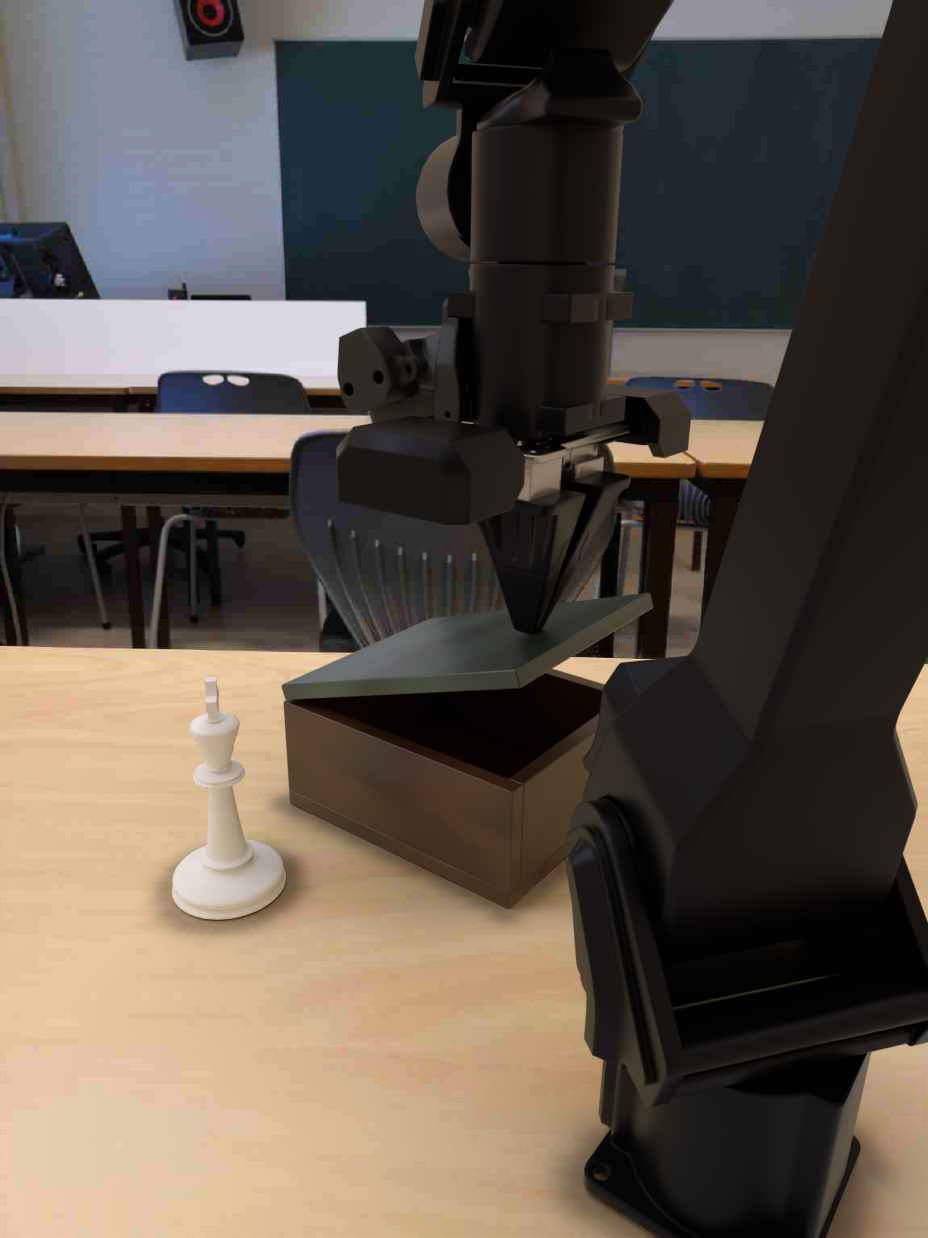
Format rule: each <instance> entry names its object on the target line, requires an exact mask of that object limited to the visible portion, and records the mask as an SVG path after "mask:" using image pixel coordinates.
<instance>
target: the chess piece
mask: <svg viewBox="0 0 928 1238" xmlns="http://www.w3.org/2000/svg"><path fill="white" fill-rule="evenodd" d="M204 688H205V701H204V705H205V706H204V707H205V713H203V714H200V715H199V716H197V717H195V718H193V720H192V721H191V722H190V724H189V727H188V728H189V732H190V735H191V737H192V739H193V741H194V742H195V743H196V746H197V748H198V750H199V753H200V755H201V756H202V758H203V760H204V762H202V763H201V764H199V765H198V766H197V767H196V768H195V769H194V773H193V776H192V777H193V778H192V779H193V782H194V784H196V785H197V787H200V788H203V789H208V816H207V817H208V818H207V819H208V820H207V838H206V845H203V846H202V847H201V846H200V848H197V849H196V850H194V851H192V852H191V853H189V854H188V855H186V856H185V857H184V858H183V859H182V860H181V861H180V863H178V864H177V866H176V868H175V870H174V872H173V874H172V887H171V896H172V900H173V901H174V903H175V905H176V906H177V907H178V908H179V909H180V910H181V911H183V912H184V913H186V914H188V915H190V916H193V917H196V918H198V919H199V918H200V919H204V920H205V919H206V920H230V919H237V918H240V917H244V916H248V915H251V914H253V913H255V912H257V911H260V910H262V909H263V908H265V907H266V906H268V905H269V904H271V903H272V902H273V901H274V900H275V899H277V897H278V896H279V895H280V894H281V892H282V891H283V889H284V887H285V885H286V881H287V872H286V870H285V869H286V868H285V867H284V861H283V858H282V856H281V855H280V854H279V852H278V851H277V850H275V848H273V847H272V846H270V845H268V844H267V843H264V842H261V841H257V840H254V839H253V840H252V839H247V838H245V835H244V831H243V827H242V822H241V819H240V815H239V810H238V807H237V802H236V796H235V791H234V786H235V785H237V784H238V783H240V782H241V781H242V780H243V779H244V778H245V775H246V770H245V769H246V768H244V765H243V764H242V762H240V761H238V760H236V759H233V758H232V756H233V753H234V748H235V744H236V740H237V736H238V734H239V729H240V723H241V722H240V719H239V718H238V716H237V715H235V714H233V713H231V712H226V711H220V702H219V701H220V700H219V699H220V688H219V684H218V681H217V676H211V677H210V676H209V677H205V678H204Z"/></svg>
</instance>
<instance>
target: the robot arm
mask: <svg viewBox="0 0 928 1238" xmlns="http://www.w3.org/2000/svg"><path fill="white" fill-rule="evenodd" d="M674 2H675V0H424V2H423V7H422V11H421V19H420V25H419V30H418V37H417V41H416V48H415V54H414V62H415V66H416V71H417V76H418V80H419V81H422V82H423V88H422V107H423V108H424V109H440V110H456V131H455V132H456V133H455V134H456V135H454V136H452V137H450V138H449V139H447V140H445V141H444V142H442V143H440V144H439V145H438V146H437V147H436V149H435V150H433V151H432V153H431V154H429V156H428V158H427V160H426V161H425V163H424V165H423V166H422V169H421V172H420V176H419V178H418V182H417V185H416V188H415V189H416V190H415V203H416V204H415V205H416V210H417V216H418V218H419V221H420V225H421V227H422V229H423V231H424V232H425V234H426V236H427V237H428V239H429V241H430V242H431V243H432V244H433V245H434V246H435V247H436V248H437V249H438V250H439V251H440V252H442V253H443V254H444V255H447V256H448V257H451V258H452V259H454V260H458V261H461V262H465V263H470V264H469V289H451V290H450V289H449V290H447V298H445V300H444V301H443V302H442V310H441V311H442V312H441V313H442V314H441V315H442V316H441V318H442V320H441V321H442V323H441V329H440V331H437V332H435V333H432V334H430V335H428V336H424V337H419V338H409V339H405V340H403V341H402V340H400V337H399V336H398V335H397V334H396V333H395V331H394V330H393V329H392V328H391V327H390V326H388V325H380V326H379V325H378V326H364V327H359V328H356V329H353V330H351V331H349V332H347V333H345V334H343V335H341V336H339V337H338V347H337V348H338V349H337V350H338V352H337V367H336V368H337V369H336V377H337V383H338V387H339V390H340V396H341V399H342V400H343V401H342V402H343V403H344V406H345V407H346V408H347V409H349V410H350V411H351V412H353V413H362V412H367V411H368V413H369V418H370V421H371V423H365V424H359V425H354V426H352V428H351V429H350V430H349V432H348V433H347V434H346V435H345V436H344V438H343V439H342V440H341V442H340V443H339V444H338V446H337V447H336V448H335V453H336V454H335V455H336V481H337V501H338V503H341V504H346V505H350V506H355V507H358V508H359V507H360V508H364V509H368V510H373V511H378V512H383V513H388V514H393V515H397V516H401V517H407V518H410V519H416V520H421V521H425V522H430V523H434V524H439V525H444V526H465V525H472V524H476V526H477V528H478V531H479V532H480V535H481V537H482V539H483V542H484V544H485V546H486V549H487V552H488V555H489V557H490V560H491V562H492V563H491V564H492V566H493V570H494V572H495V575H496V579H497V581H498V584H499V588H500V591H501V593H502V597H503V600H504V604H505V606H506V609H508V612H509V615H510V618H511V622H512V625H513V627H514V629H515V630H517V631H519V632H523V633H527V634H534V633H536V632H538V631H540V630H541V629H543V627H544V626H545V624H546V622H547V620H548V618H549V616H550V615H551V613H552V611H553V609H554V607H555V605H556V604H557V603H558V602H559V600H560V598H561V597H562V594H563V593H564V591H565V589H566V587H567V586H568V583H569V582H570V579H572V576H573V575H574V572H575V570H576V569H577V567H578V565H579V563H580V562H581V560H582V559H583V557H584V555H585V553H586V551H587V550H588V547H589V546H590V544H591V543H592V540H593V539H594V537H595V535H596V534H597V533H598V532H599V529H600V528H601V526H602V524H603V522H605V521H604V520H605V519H606V517H607V516H608V514H609V512H610V511H611V509H612V508H613V506H614V504H615V503H616V501H617V499H618V497H619V496H620V494H621V493H622V492H623V491H625V490H626V489H628V488H629V486H630V483H631V476H630V475H628V474H626V473H620V472H613V471H607V470H604V462H605V461H604V460H605V456H604V455H602V454H601V455H600V454H598V451H599V447H601V446H604V445H608V444H612V443H623V444H630V445H637V446H648V449H649V450H650V453H651V456H652V457H653V458H660V459H667V458H669V457H673V456H675V455H678V454H681V453H684V452H688V451H689V443H690V434H691V425H692V424H691V423H692V413H693V411H692V410H691V409H690V407H689V406H688V405H687V403H686V402H685V401H684V399H683V398H682V397H681V395H680V394H679V393H678V392H677V390H674V389H665V388H656V387H655V388H653V387H644V386H632V385H621V384H613V383H611V384H610V383H608V376H609V361H610V349H611V348H610V344H611V332H612V331H611V329H612V321H615V320H616V321H617V320H618V321H619V320H629V319H632V316H633V315H632V314H633V301H634V292H633V291H614V287H615V286H614V285H615V271H616V270H615V269H616V265H613V264H615V263H616V254H617V251H616V250H617V239H618V224H619V222H618V221H619V209H620V194H621V177H622V164H623V163H622V162H623V149H624V148H623V147H624V146H623V145H624V133H623V132H624V128H625V127H624V126H625V125H628V124H631V123H634V122H637V121H638V120H639V119H640V117H641V115H642V113H643V100H642V98H641V96H640V95H639V93H638V91H637V89H636V87H635V86H634V85H633V83H631V82H630V81H631V79H632V77H633V75H635V72H636V70H637V68H638V66H639V64H640V62H641V60H642V58H643V56H644V54H645V52H646V50H647V48H648V47H649V44H650V43H651V40H652V39H653V36H654V34H655V32H656V30H657V28H658V27H659V25H660V24H661V22H662V20H663V19H664V18H665V16H666V14H667V13H668V11H669V10H670V8H671V7H672V6H673V4H674ZM463 46H464V48H463ZM462 50H463V56H464V58H465V59H466V61H468V63H465V62H464V63H463V62H459V61H460V58H461V53H462ZM813 257H814V258H813V261H812V264H811V267H810V270H809V273H808V277H807V280H806V284H805V287H804V290H803V292H802V293H803V294H802V297H801V300H800V303H799V306H798V310H797V313H796V316H795V320H794V323H793V326H792V329H791V332H790V336H789V339H788V342H787V345H786V349H785V352H784V355H783V359H782V362H781V365H780V367H779V371H778V375H777V377H776V378H777V379H776V381H775V384H774V388H773V391H772V395H771V398H770V401H769V404H768V407H767V410H766V414H765V418H764V420H763V423H762V427H761V430H760V434H759V437H758V440H757V444H756V446H755V450H754V453H753V456H752V459H751V462H750V466H749V470H748V473H747V476H746V479H745V482H744V486H743V489H742V492H741V495H740V499H739V502H738V505H737V508H736V512H735V515H734V518H733V522H732V525H731V528H730V531H729V535H728V538H727V541H726V545H725V548H724V551H723V554H722V558H721V561H720V564H719V567H718V571H717V574H716V577H715V581H714V584H713V587H712V590H711V594H710V597H709V599H708V603H707V607H706V610H705V613H704V617H703V620H702V623H701V626H700V630H699V632H698V636H697V639H696V641H695V644H694V646H693V648H692V650H691V651H690V652H689V653H688V654H687V655H681V656H670V657H660V658H653V659H652V658H651V659H639V660H632V661H623V662H620V663H618V664H617V666H616V667H615V668H614V670H613V671H612V672H611V675H610V676H609V678H607V681H606V682H605V683H604V684H605V685H604V687H603V691H602V698H601V706H600V713H599V720H598V726H597V731H596V734H595V737H594V740H593V743H592V746H591V748H590V749H589V751H588V752H587V753H586V755H585V756H584V758H583V765H584V768H585V769H586V770H587V771H589V772H590V775H589V777H588V780H587V782H586V786H585V789H584V793H583V798H582V802H580V803H579V804H578V805H577V806H576V808H575V810H574V813H573V816H572V821H571V828H570V831H569V832H568V833H567V848H568V855H567V858H566V860H565V872H566V879H567V883H568V889H569V890H568V891H569V894H570V901H571V913H572V914H571V915H572V925H573V940H574V952H575V962H576V966H577V967H576V968H577V971H578V973H579V978H580V983H581V986H582V989H583V991H584V992H585V998H586V999H585V1021H584V1032H583V1040H584V1042H585V1043H586V1046H587V1048H588V1050H589V1051H590V1054H591V1056H592V1057H595V1058H598V1059H599V1060H602V1066H601V1067H602V1068H601V1079H600V1093H599V1103H598V1117H599V1120H600V1123H601V1124H602V1125H604V1126H605V1127H606V1128H609V1130H608V1131H607V1133H606V1134H605V1135H604V1136H603V1139H602V1140H601V1141H600V1142H599V1144H598V1145H597V1147H596V1148H595V1150H594V1151H593V1153H592V1154H591V1155H590V1157H589V1158H588V1160H587V1161H586V1163H585V1165H584V1168H583V1178H582V1179H583V1185H584V1187H585V1189H586V1191H588V1193H590V1194H591V1195H592V1196H594V1197H596V1198H597V1199H599V1200H600V1201H602V1202H603V1203H605V1204H606V1205H608V1206H610V1207H611V1208H612V1209H614V1210H615V1211H617V1212H618V1213H620V1214H622V1215H623V1216H625V1217H626V1218H628V1219H629V1220H631V1221H633V1222H634V1223H635V1224H637V1225H638V1226H640V1227H642V1228H643V1229H645V1230H646V1231H648V1232H649V1233H650V1234H652V1235H654V1236H656V1237H657V1238H828V1237H829V1234H830V1232H831V1229H832V1227H833V1224H834V1222H835V1220H836V1217H837V1215H838V1212H839V1209H840V1207H841V1205H842V1203H843V1200H844V1198H845V1195H846V1192H847V1191H848V1187H849V1184H850V1182H851V1179H852V1177H853V1175H854V1172H855V1170H856V1167H857V1165H858V1162H859V1160H860V1159H859V1158H860V1154H861V1147H862V1146H861V1143H860V1141H859V1139H858V1138H857V1136H856V1135H855V1134H854V1133H855V1129H856V1125H857V1124H856V1123H857V1119H858V1115H859V1110H860V1106H861V1102H862V1097H863V1092H864V1089H865V1088H864V1087H865V1083H866V1078H867V1074H868V1069H869V1066H870V1060H871V1056H872V1053H873V1052H877V1051H881V1050H886V1049H890V1048H894V1047H898V1046H902V1045H903V1046H904V1045H907V1046H908V1047H915V1046H918V1045H923V1044H927V1043H928V919H927V916H926V913H925V910H924V907H923V905H922V903H921V899H920V897H919V894H918V890H917V888H916V886H915V883H914V881H913V877H912V875H911V872H910V869H909V867H908V863H907V861H906V858H905V855H904V852H905V850H906V846H907V843H908V841H909V838H910V835H911V831H912V828H913V825H914V823H915V819H916V815H917V812H918V804H919V803H918V798H917V796H916V792H915V789H914V785H913V783H912V779H911V774H910V771H909V768H908V765H907V761H906V758H905V755H904V751H903V748H902V745H901V741H900V738H899V733H898V731H897V724H898V720H899V717H900V715H901V712H902V710H903V708H904V706H905V704H906V702H907V700H908V698H909V696H910V694H911V692H912V689H913V687H914V686H915V684H916V682H917V680H918V678H919V676H920V674H921V672H922V670H923V668H924V666H925V664H926V662H927V660H928V0H892V1H891V5H890V9H889V13H888V16H887V19H886V22H885V25H884V30H883V33H882V36H881V39H880V42H879V45H878V49H877V52H876V54H875V58H874V61H873V65H872V68H871V72H870V75H869V78H868V82H867V85H866V88H865V91H864V95H863V98H862V101H861V104H860V107H859V111H858V113H857V117H856V121H855V123H854V127H853V130H852V134H851V137H850V140H849V143H848V147H847V150H846V153H845V156H844V160H843V163H842V166H841V169H840V173H839V176H838V179H837V182H836V185H835V189H834V192H833V195H832V199H831V202H830V206H829V209H828V212H827V215H826V218H825V222H824V225H823V228H822V231H821V235H820V237H819V241H818V244H817V248H816V251H815V253H814V256H813ZM587 263H588V264H587ZM589 263H591V264H589ZM592 263H593V264H592ZM594 263H595V264H594ZM596 263H597V264H596ZM600 263H601V264H602V263H603V265H601V264H600ZM609 264H611V265H609ZM596 1175H602V1176H604V1177H605V1179H601V1178H600V1179H599V1178H597V1177H596Z"/></svg>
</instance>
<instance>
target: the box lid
mask: <svg viewBox="0 0 928 1238" xmlns="http://www.w3.org/2000/svg"><path fill="white" fill-rule="evenodd" d="M653 608H654V604H653V599H652V596H651V593H650V592H644V593H634V594H625V595H618V596H617V595H616V596H609V597H601V598H592V599H584V600H583V599H582V600H576V601H567V602H559V603H558V602H557V604H556V605H555V607H554V609H553V611H552V613H551V615H550V616H549V618H548V620H547V622H546V624H545V626H544V627H543V629H541V630H540V631H538V632H536V633H534V634H527V633H523V632H519V631H517V630H515V629H514V627H513V625H512V622H511V618H510V615H509V612H508V609H507V608H506V609H498V610H491V611H489V610H488V611H481V612H473V613H464V614H457V615H447V616H440V617H439V616H438V617H432V618H431V617H430V618H428V619H426V620H424V621H421V622H419V623H417V624H414V625H411V626H410V627H408V628H406V629H403V630H400V631H399V632H396V633H394V634H392V635H390V636H387V637H385V638H383V639H381V640H379V641H376V642H374V643H372V644H369V645H367V646H365V647H363V648H361V649H358V650H356V651H354V652H352V653H349V654H347V655H345V656H343V657H340V658H338V659H336V660H333V661H330V662H329V663H327V664H325V665H323V666H320V667H318V668H316V669H314V670H312V671H309V672H307V673H305V674H302V675H300V676H298V677H296V678H293V679H291V680H288V681H287V682H285V683H282V684H281V686H280V687H281V690H282V694H283V698H284V699H285V700H291V699H311V698H332V697H353V696H373V695H394V694H414V693H435V692H456V691H476V690H497V689H517V688H521V687H523V686H524V685H526V684H528V683H529V682H531V681H533V680H534V679H536V678H538V677H539V676H541V675H543V674H544V673H546V672H548V671H549V670H551V669H555V667H558V666H559V665H561V664H563V663H564V662H566V661H568V660H570V659H571V658H573V657H574V656H576V655H578V654H579V653H581V652H583V651H584V650H586V649H587V648H589V647H591V646H593V645H595V644H596V643H597V642H599V641H600V640H602V639H604V638H606V637H608V636H609V635H610V634H613V633H614V632H616V631H617V630H619V629H620V628H622V627H624V626H626V625H627V624H629V623H630V622H632V621H634V620H635V619H637V618H639V617H640V616H643V615H644V614H645V613H647V612H649V611H651V610H653Z"/></svg>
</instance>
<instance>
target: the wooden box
mask: <svg viewBox="0 0 928 1238" xmlns="http://www.w3.org/2000/svg"><path fill="white" fill-rule="evenodd" d="M604 685H605V683H602V682H598V681H596V680H595V681H594V680H592V679H588V678H585V677H582V676H578V675H575V674H571V673H568V672H564V671H562V670H558V669H555V668H553V669H551V670H549V671H548V672H546V673H544V674H543V675H541V676H539V677H538V678H536V679H534V680H533V681H531V682H529V683H528V684H526V685H524V686H523V687H521V688H517V689H497V690H476V691H456V692H435V693H414V694H394V695H373V696H353V697H332V698H311V699H291V700H286V699H285V700H283V716H284V717H283V718H284V719H283V720H284V733H285V745H286V746H285V749H286V763H287V780H288V789H289V790H288V795H289V803H290V804H291V805H293V806H295V807H298V808H300V809H302V810H303V811H306V812H308V813H310V814H312V815H314V816H317V817H318V818H321V819H322V820H325V821H327V822H328V823H330V824H332V825H335V826H337V827H339V828H342V829H343V830H346V831H348V832H349V833H352V834H353V835H356V836H358V837H360V838H362V839H364V840H366V841H368V842H370V843H372V844H374V845H377V846H378V847H380V848H383V849H384V850H386V851H389V852H391V853H393V854H395V855H397V856H400V857H401V858H403V859H405V860H407V861H410V862H412V863H414V864H416V865H418V866H420V867H422V868H424V869H426V870H428V871H430V872H432V873H434V874H436V875H439V876H441V877H443V878H444V879H447V880H448V881H451V882H453V883H454V884H457V885H459V886H461V887H464V888H465V889H467V890H470V891H472V892H473V893H476V894H478V895H480V896H482V897H483V898H486V899H489V900H490V901H492V902H494V903H497V904H499V905H500V906H503V907H505V908H507V909H510V908H511V907H512V906H513V905H515V904H516V903H517V902H518V901H519V900H520V899H521V898H522V897H523V896H524V895H525V894H526V893H528V891H530V890H531V889H532V888H533V887H534V886H535V885H536V884H537V883H539V882H540V881H541V880H542V879H543V878H544V877H545V876H547V874H549V873H550V872H551V871H552V870H553V869H554V868H555V867H557V865H558V864H560V863H561V862H562V861H563V860H564V859H565V858H566V857H568V848H567V833H568V832H569V831H570V828H571V821H572V816H573V813H574V810H575V808H576V806H577V805H578V804H579V803H580V802H582V798H583V793H584V789H585V786H586V782H587V780H588V777H589V775H590V772H589V771H587V770H586V769H585V768H584V765H583V758H584V756H585V755H586V753H587V752H588V751H589V749H590V748H591V746H592V743H593V740H594V737H595V734H596V731H597V726H598V720H599V713H600V706H601V698H602V691H603V687H604Z"/></svg>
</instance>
